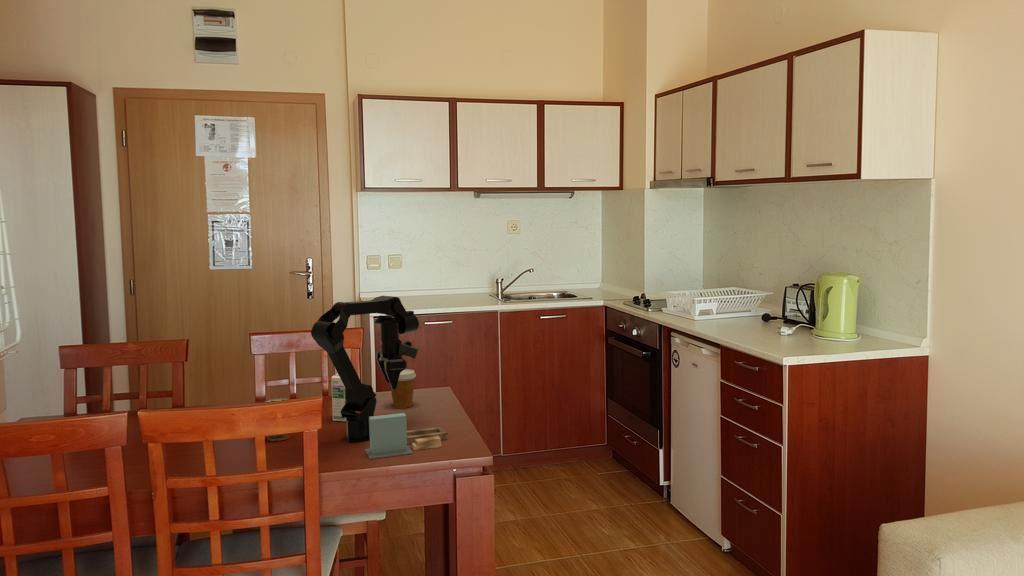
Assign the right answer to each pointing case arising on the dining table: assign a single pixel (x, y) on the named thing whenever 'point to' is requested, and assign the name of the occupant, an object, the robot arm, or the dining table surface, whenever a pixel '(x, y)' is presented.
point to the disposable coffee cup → (404, 389)
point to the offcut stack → (427, 443)
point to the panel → (388, 433)
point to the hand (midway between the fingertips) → (391, 385)
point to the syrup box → (338, 397)
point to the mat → (388, 453)
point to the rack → (426, 434)
